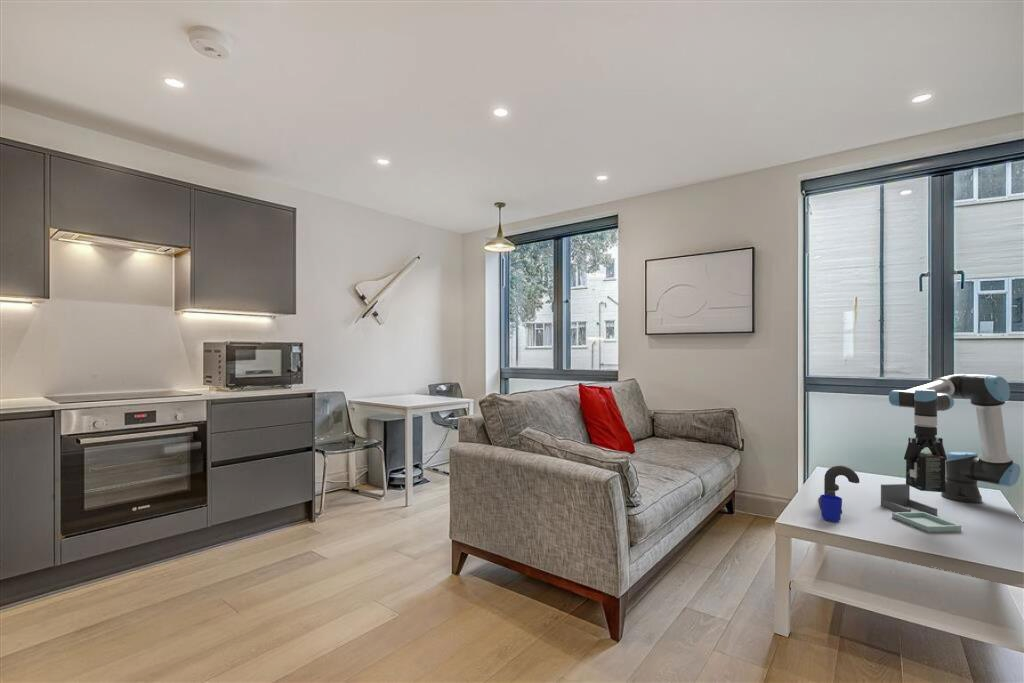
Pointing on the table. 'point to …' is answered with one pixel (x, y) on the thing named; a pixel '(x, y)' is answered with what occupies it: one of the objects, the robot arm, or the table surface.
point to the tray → (926, 522)
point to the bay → (901, 499)
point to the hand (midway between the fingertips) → (925, 476)
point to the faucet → (831, 476)
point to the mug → (831, 507)
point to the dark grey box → (928, 473)
